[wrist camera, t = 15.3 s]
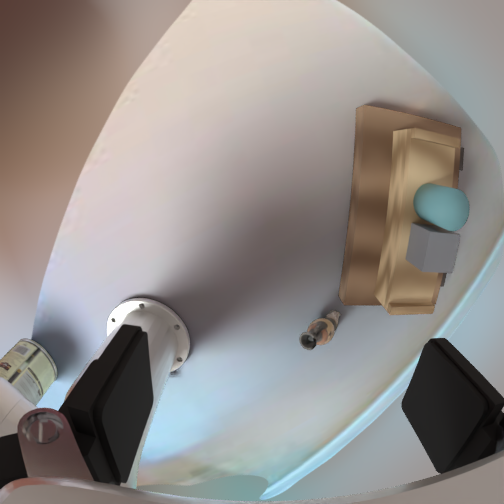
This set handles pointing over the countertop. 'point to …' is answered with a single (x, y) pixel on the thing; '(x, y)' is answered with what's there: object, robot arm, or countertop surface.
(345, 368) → the countertop surface
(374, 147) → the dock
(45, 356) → the coffee can
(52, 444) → the robot arm
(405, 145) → the light wood long block
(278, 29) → the countertop surface
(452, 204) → the teal cylinder
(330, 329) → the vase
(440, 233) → the grey cube
